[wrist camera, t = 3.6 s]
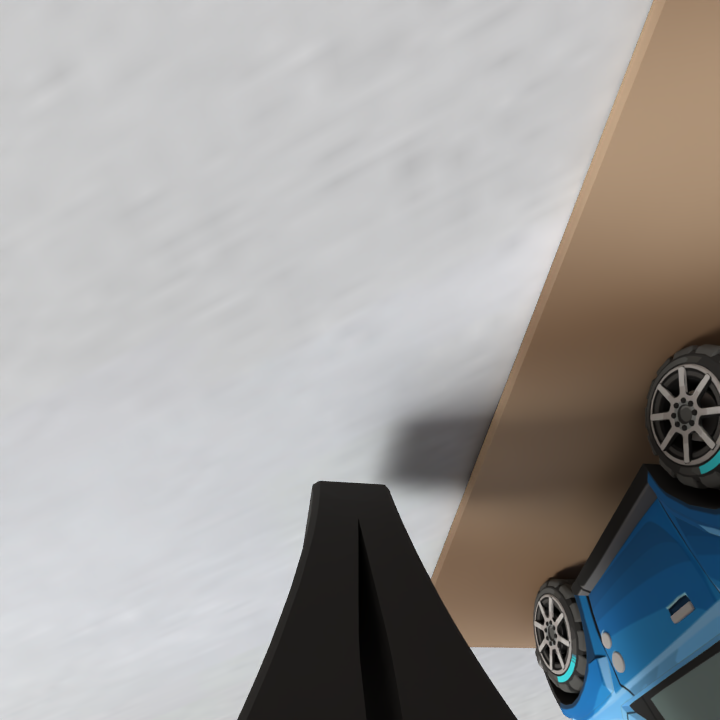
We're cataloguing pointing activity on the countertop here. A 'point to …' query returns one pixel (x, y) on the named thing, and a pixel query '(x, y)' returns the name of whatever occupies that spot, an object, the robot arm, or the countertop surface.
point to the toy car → (649, 572)
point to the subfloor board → (598, 336)
